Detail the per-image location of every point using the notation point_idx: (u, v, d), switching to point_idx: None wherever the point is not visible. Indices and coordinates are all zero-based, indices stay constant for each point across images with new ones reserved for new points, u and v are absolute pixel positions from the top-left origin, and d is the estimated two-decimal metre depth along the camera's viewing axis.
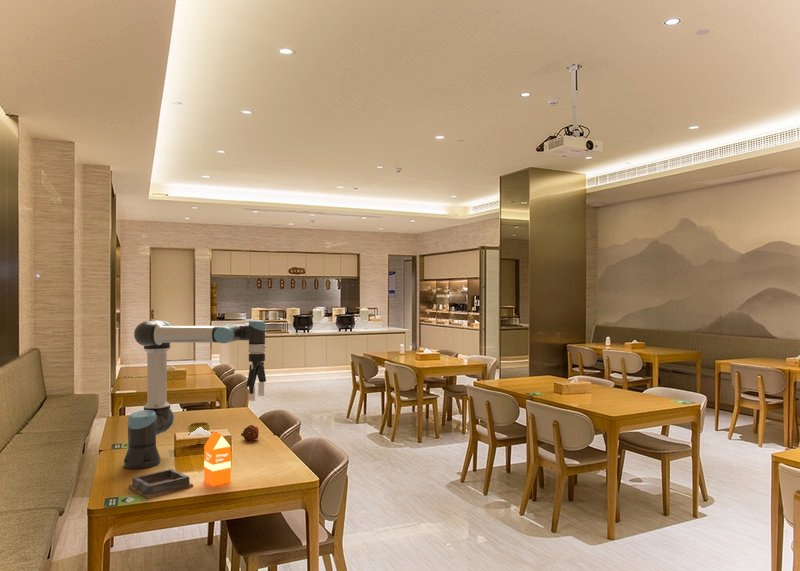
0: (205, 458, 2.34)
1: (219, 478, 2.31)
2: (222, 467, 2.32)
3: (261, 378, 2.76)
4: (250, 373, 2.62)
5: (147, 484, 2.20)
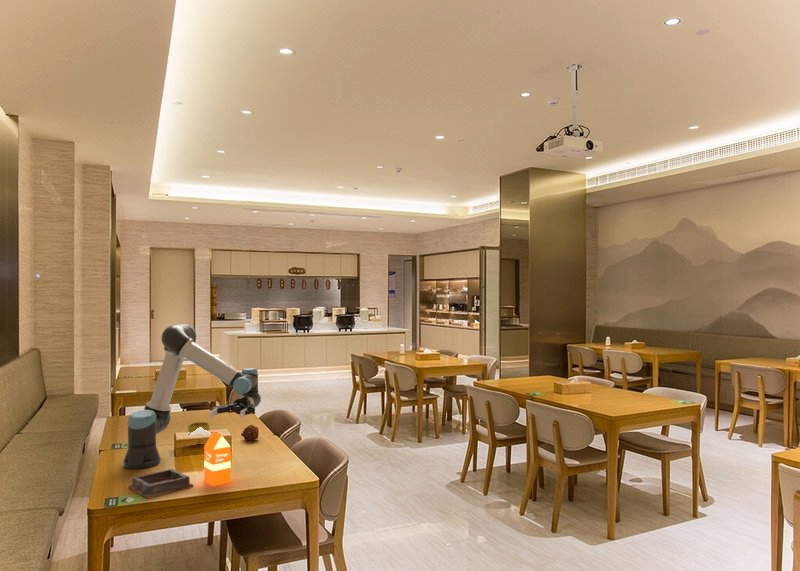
0: (205, 458, 2.34)
1: (219, 478, 2.31)
2: (222, 467, 2.32)
3: (220, 411, 2.54)
4: None
5: (147, 484, 2.20)
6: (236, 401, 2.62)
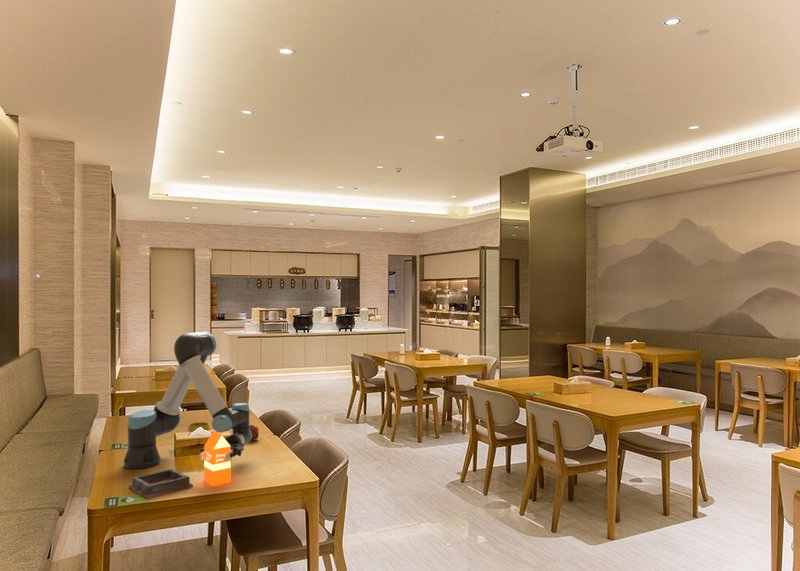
0: (205, 458, 2.34)
1: (219, 478, 2.31)
2: (222, 467, 2.32)
3: None
4: (241, 448, 2.43)
5: (147, 484, 2.20)
6: (226, 440, 2.49)
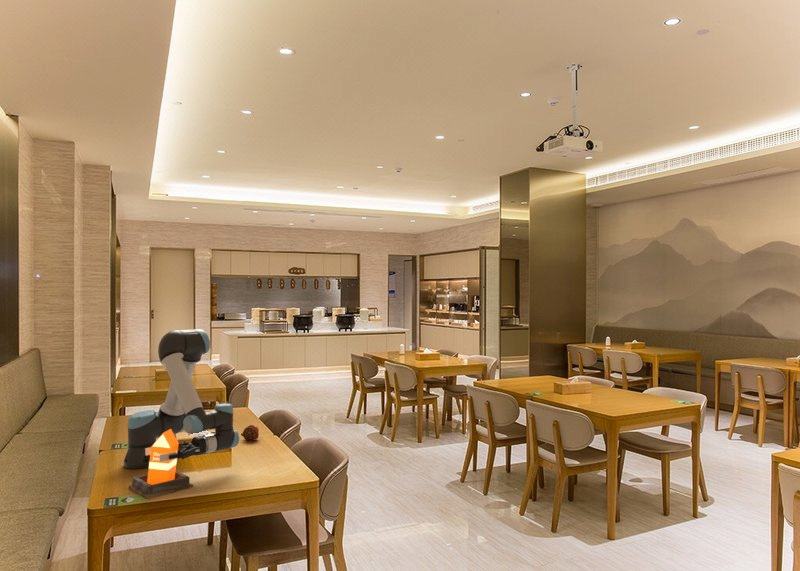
0: None
1: (155, 478, 2.23)
2: (159, 467, 2.24)
3: None
4: (192, 451, 2.30)
5: (147, 484, 2.20)
6: (192, 440, 2.40)
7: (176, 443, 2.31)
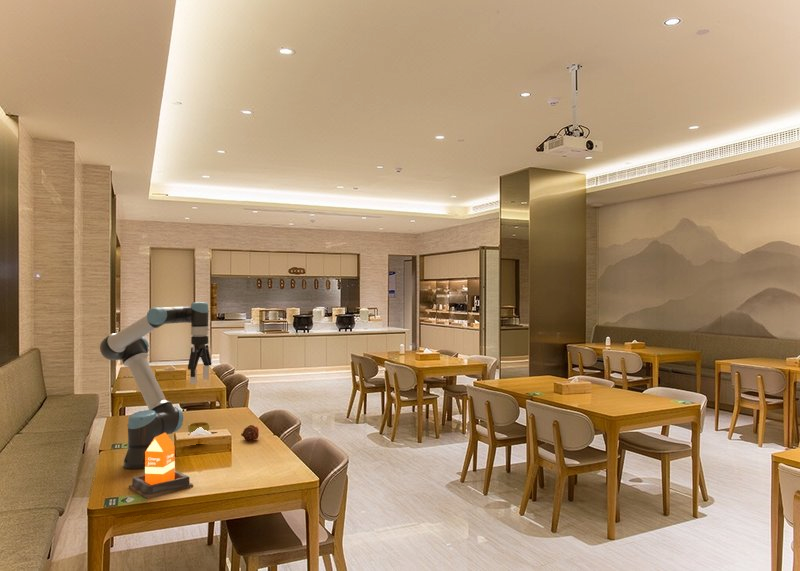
0: None
1: (152, 482, 2.23)
2: (154, 471, 2.23)
3: (206, 361, 2.70)
4: (191, 356, 2.56)
5: (147, 484, 2.20)
6: None
7: (171, 446, 2.30)
